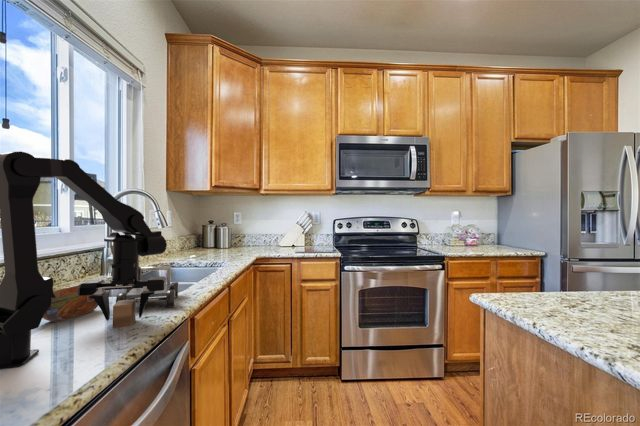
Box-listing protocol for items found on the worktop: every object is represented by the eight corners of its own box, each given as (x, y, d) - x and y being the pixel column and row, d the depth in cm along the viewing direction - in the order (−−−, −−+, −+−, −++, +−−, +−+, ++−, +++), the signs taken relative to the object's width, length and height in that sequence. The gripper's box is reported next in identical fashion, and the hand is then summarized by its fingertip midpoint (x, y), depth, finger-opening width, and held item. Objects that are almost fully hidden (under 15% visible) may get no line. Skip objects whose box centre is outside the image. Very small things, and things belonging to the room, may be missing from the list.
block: (130, 326, 77) (131, 304, 77) (112, 328, 76) (112, 305, 76) (135, 319, 82) (135, 299, 82) (117, 321, 80) (118, 300, 81)
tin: (43, 326, 76) (44, 292, 76) (35, 324, 77) (36, 291, 77) (102, 309, 91) (102, 280, 91) (94, 308, 92) (95, 280, 92)
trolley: (173, 308, 92) (174, 273, 92) (115, 313, 87) (116, 275, 87) (178, 294, 108) (179, 265, 108) (129, 298, 103) (130, 266, 103)
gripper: (169, 253, 90) (168, 306, 90) (93, 255, 83) (92, 312, 83) (164, 258, 79) (162, 318, 79) (77, 261, 73) (75, 326, 73)
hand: (124, 318), depth 79 cm, fingers open, 7 cm apart
